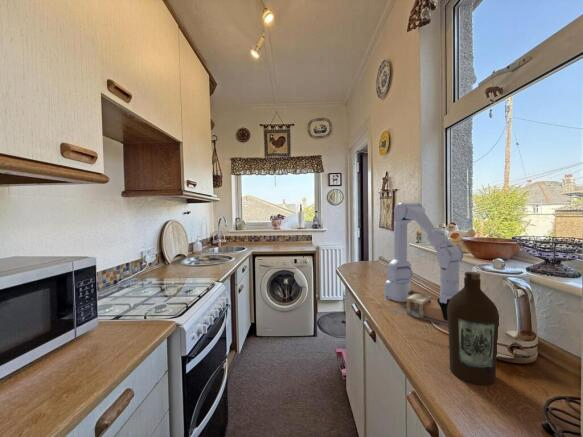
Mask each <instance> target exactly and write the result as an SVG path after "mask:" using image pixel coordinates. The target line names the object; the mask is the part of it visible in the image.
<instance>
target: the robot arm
mask: <svg viewBox="0 0 583 437" xmlns="http://www.w3.org/2000/svg"><path fill="white" fill-rule="evenodd" d="M425 211H426V208H425V207H424V206H423V205H422V204H421V203H420V202H399V203H397V204H396V206H394V208H393V259H392V260H391V261H390V262H389V263H388V264H387V268H386V277H387V280H385V283H384V299H383V301H386V300H392V301H395V302H402V303H403V302H405V303H406V298H408V297H409V292H408V282H410V280H411V279H412V278H413V275H414V274H413V269H412V264H411V263H410V261H408V225H409V223H411V222H412V221H415V222H416V223H417V224H418V225H419V226H420V228H422V229H423V231H424V232H425V233H426V234H427V235H426V239H427V241H428V242H429V243H430V245H431V246H432V247H433V249H434V250H435V252H437V253H436V258H437V260H438V266H439V267H440V270H439V272H440V273H439V274H440V281H439V282H440V285H439V286H440V291H439V298H437V299H436V300H437V303H438V304H437V305H440V307H441V310H442V314H443V318H444V320H447V321H448V315H447V307H448V303H449V301H450V299H451V298H452V297H453V296H454V295H455V294H456V293H458V292H459V291H460V262H461V261H463V258H464V252H463V250H462V249H461V247H460V246H459V245H455V244H454V243H453V242H452V241H450V239H449V238H448V237H447V236H446V235H445V232H444V230H441V229H436V227H435V226H434V224H433V223H432V221H431V220H430V218H429V216H428V215H427V214H426V213H425Z"/></svg>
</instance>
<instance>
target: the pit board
mask: <svg viewBox="0 0 583 437" xmlns="http://www.w3.org/2000/svg"><path fill="white" fill-rule="evenodd" d="M403 307H406V304H402V305H401V306H399V307H397V308H396V309H394V310H393V312H395V313H398V314H402V315H407V316H409V317H414V318H418V319H421V320H426V321H429V322H432V323H437V324H441V325H444V326H448V322H445V321H442V320H438V319H434V318H430V317H426V316H424V318H421V317H420V315H419V307H418V309H414V306H411V314H410V315H409V314H406V312H401V311H398V310H399V309H400V310H403V311H406V308H403Z"/></svg>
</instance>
